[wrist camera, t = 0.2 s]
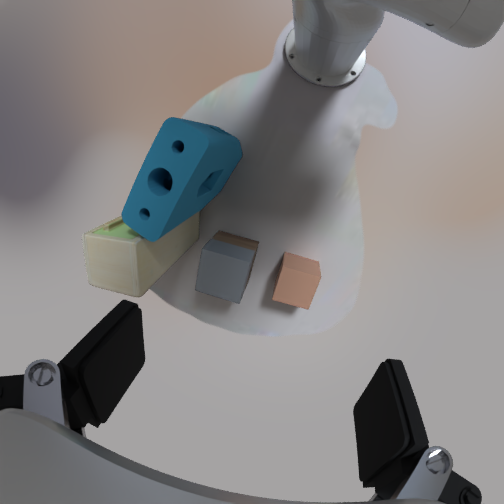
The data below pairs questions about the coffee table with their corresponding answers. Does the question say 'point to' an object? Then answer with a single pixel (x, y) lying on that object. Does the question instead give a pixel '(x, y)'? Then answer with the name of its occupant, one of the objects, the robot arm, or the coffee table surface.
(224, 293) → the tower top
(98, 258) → the cream box
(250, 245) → the tower bottom
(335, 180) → the coffee table surface
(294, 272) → the terracotta cube
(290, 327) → the coffee table surface
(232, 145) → the block
